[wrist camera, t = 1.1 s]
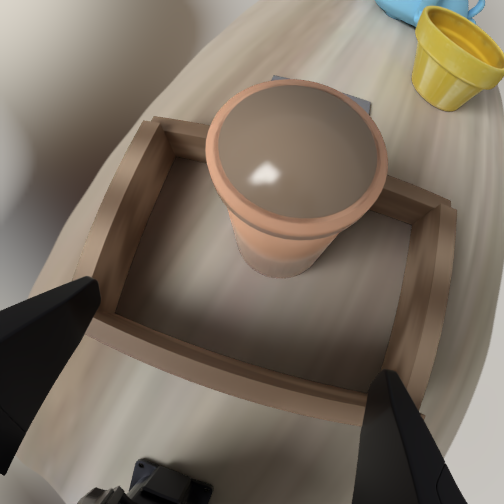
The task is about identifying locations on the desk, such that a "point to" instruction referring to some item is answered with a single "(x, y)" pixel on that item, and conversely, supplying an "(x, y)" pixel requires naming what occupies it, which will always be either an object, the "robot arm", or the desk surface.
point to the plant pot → (453, 59)
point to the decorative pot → (412, 4)
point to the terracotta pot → (293, 170)
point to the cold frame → (234, 371)
